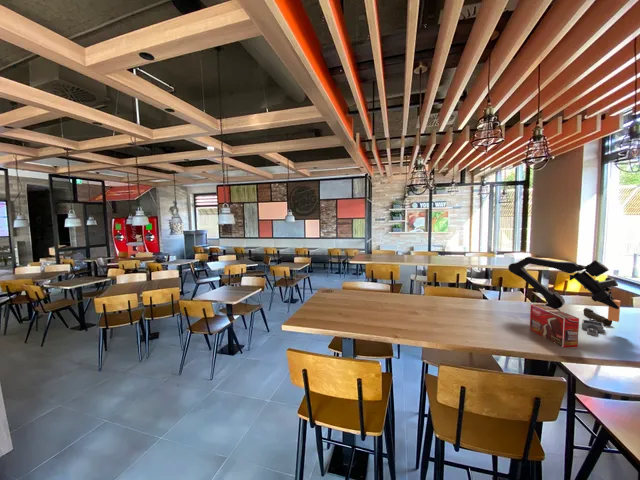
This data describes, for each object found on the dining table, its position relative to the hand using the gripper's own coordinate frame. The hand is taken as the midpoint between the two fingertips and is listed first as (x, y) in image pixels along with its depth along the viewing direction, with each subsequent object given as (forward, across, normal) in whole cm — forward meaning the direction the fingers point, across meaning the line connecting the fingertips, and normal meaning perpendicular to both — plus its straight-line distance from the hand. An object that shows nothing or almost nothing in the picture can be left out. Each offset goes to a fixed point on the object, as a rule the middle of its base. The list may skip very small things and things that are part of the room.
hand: (618, 307), depth 130 cm
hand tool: (+3, +18, +16) cm, 25 cm away
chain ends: (+3, -1, +15) cm, 16 cm away
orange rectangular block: (+4, 0, +6) cm, 7 cm away
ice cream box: (-4, -31, +23) cm, 39 cm away
